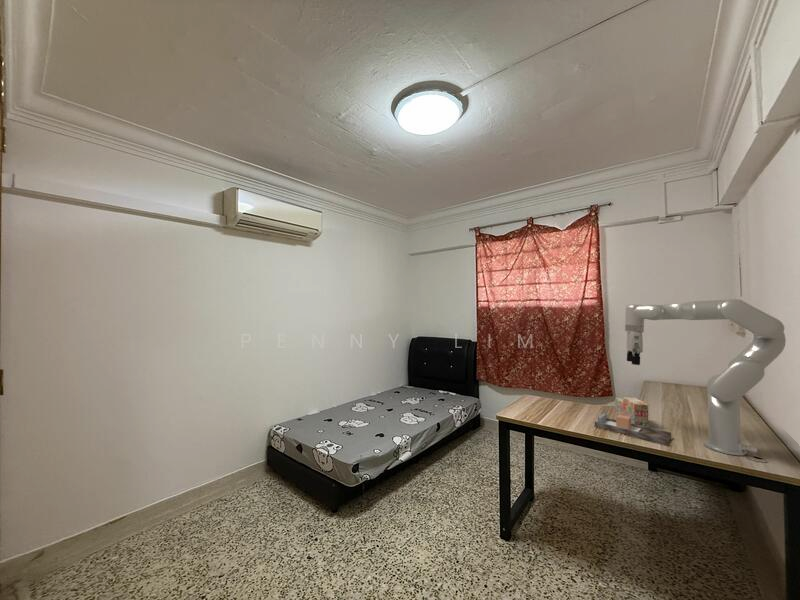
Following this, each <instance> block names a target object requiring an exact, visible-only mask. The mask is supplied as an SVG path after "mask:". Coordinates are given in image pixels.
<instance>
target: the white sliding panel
mask: <svg viewBox="0 0 800 600" xmlns="http://www.w3.org/2000/svg"><path fill="white" fill-rule="evenodd" d="M607 418H608V417H607V414H606V413H603V412H602V414H600V415H598V417H597V422H600V423H604V424H608V425H612V426H616V422H612V421H607ZM629 430H633V431H637V432H640V431H641V428H637V427H633V426H631V428H630V429H629Z"/></svg>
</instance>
